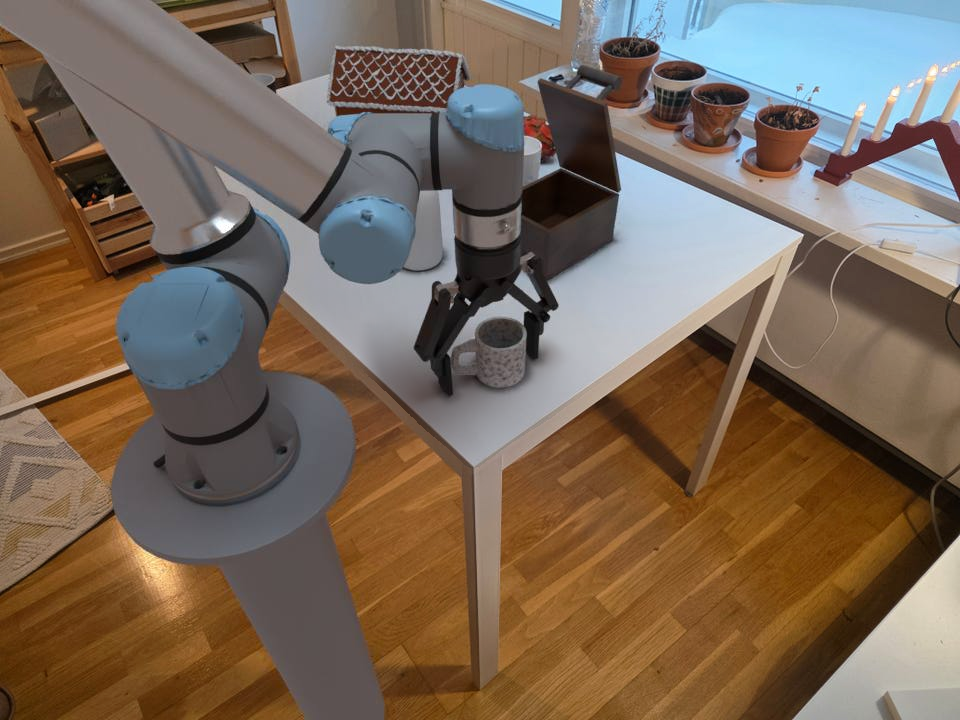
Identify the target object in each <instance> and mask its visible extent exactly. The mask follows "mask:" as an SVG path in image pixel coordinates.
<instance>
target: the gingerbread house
mask: <svg viewBox="0 0 960 720" xmlns="http://www.w3.org/2000/svg"><path fill="white" fill-rule="evenodd" d="M332 54H333V55H332V56H331V61H330V62H331V63H330V66H329V67H330V69H329V70H330V73H329V77H328V85H327V86H328V87H327V92H326V99H325V102H326V103H327V105H328V106H331V107H334V112H335V117H337V116H341V115H352V114H360V113H363V112H371V113H440V112H446V108H447V106H448V99H449V97H450V96H451V94H452V93H453V92H455V91H456V90H458V89H460V88H463V87H465V81H466V82H469V81H470V80H472V78H471V77H472V75H471V72H470V69H469V65H468V63H467V61H466V58H465V56H464V55H463V54H462V53H461V54H460V53H459V52H457V53H455V52H454V51H452V50H451V51H449V50H439V49H438V50H435V49H429V48H420V49H418V48H414V49H413V48H402V49H401V48H399V49H396V48H391V47H390V48H384V47H380V46H375V45H373V46H371V45H370V46H368V45H367V46H363V45H354V46H350V45H348V46H347V45H346V46H343V45H342V46H341V45H338V44H337V45H335V46H334V50H333V53H332Z"/></svg>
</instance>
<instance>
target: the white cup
mask: <svg viewBox="0 0 960 720" xmlns="http://www.w3.org/2000/svg"><path fill="white" fill-rule="evenodd" d="M524 143H525V145H524V163H523V185H522V187H524V186H526V185H528V184H530V183H532V182H534V181H536V180H538V179H539V177H540V169H541V162H540V159H542V157H541V150H542V144H541V142H540V141H539V140H537V139H535V138H533V137H529V136H524Z"/></svg>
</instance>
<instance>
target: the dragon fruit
mask: <svg viewBox="0 0 960 720" xmlns="http://www.w3.org/2000/svg"><path fill="white" fill-rule="evenodd" d="M546 121H547V119H546V118H544V117H538V116H537V115H536V114H533V113H532V114H529V115H528V116H526V115H524V136H529V137H533V138H535V139H537V140H539V141H540V142H541V144H542V150H541V159H540V163H543V162H546V160H544V159H543V158H542V157H544V156H545V157H552V158H553V157H554V156H555V155H556V151H555V147H554V143H553V139H552V136H551V132H550V128H549V124H548V123H546Z"/></svg>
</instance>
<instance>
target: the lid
mask: <svg viewBox="0 0 960 720" xmlns="http://www.w3.org/2000/svg"><path fill="white" fill-rule="evenodd" d="M580 81H584V82H587V83H590V84H593V85H596V86H599V87H602V88H604V89H603V90H602V91H601V93H599V94H598V95H597V96H596V97H595V96H592V95H589V94H585V93H583V92H581V91H578V90H575V89H574V87H576V85H578V83H579V82H580ZM536 83H537V87H538V89H539V94H540V97H541V101H542V105H543V109H544V113H545V116H546V121H547V125H549V128H550V132H551V136H552V139H553V143H554V148H555V151H556V153H555V155H556V158H557V162H558V165H559V168H562V169H564V170H566V171H569V172H571V173H573V174H575V175H577V176H580V177H582V178H584V179H586V180H589V181H591V182H593V183H595V184H598V185H600V186H602V187H604V188H607V189H609V190H611V191H613V192H615V193H618V194H619V193H620V192H621V191H622V186H621V185H622V184H621V180H620V173H619V168H618V161H617V154H616V148H615V143H614V136H613V130H612V124H611V117H610V111H609V105H608V101H605V99H606V98H607V97H608V96H609V95H610V94H611V93H612V92H618V91H619V90H620V89H621V87H622V84H623V78H622V77H621V76H619V75H615V74H613V73H611V72H607V71H604V70H601V69H597V68H594V67H591V66H589V65H585V64H581V65H580V66H579V67H578V68H577V71H576V75H575V76H574V77H573V78H572V79H571V80H570V81H569V82H568V83H567V84H566V85H565V86H564V85H561V84H559V83H555V82H553V81H549V80H547V79H544V78H539V79H538V80H537V82H536Z"/></svg>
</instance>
